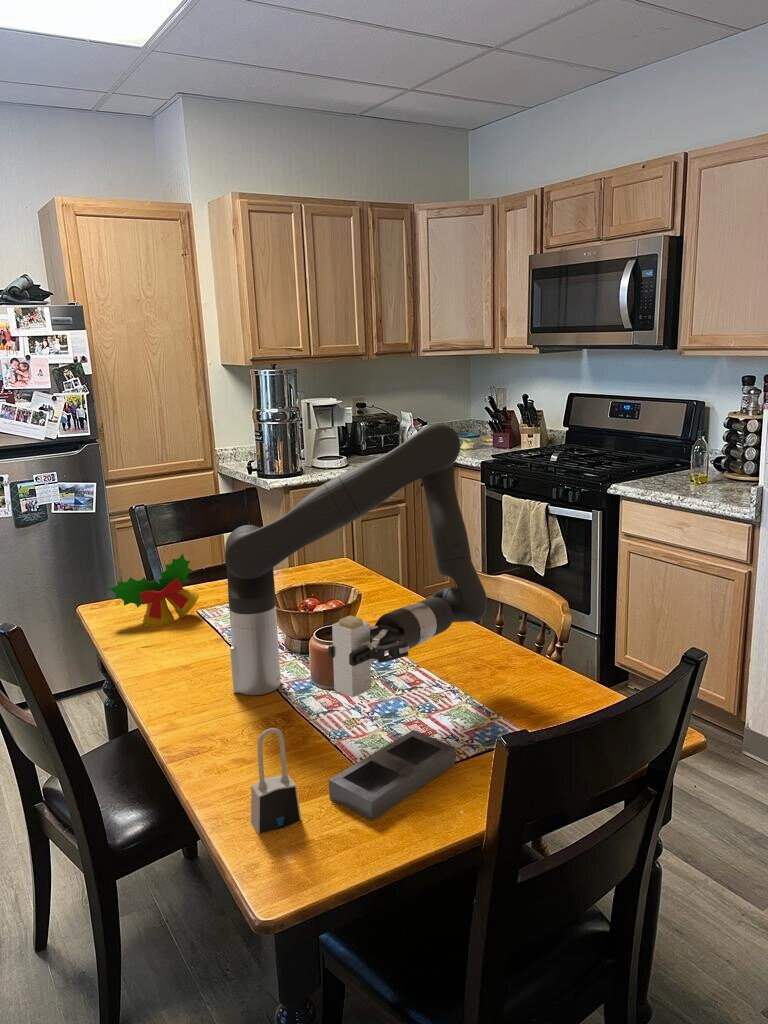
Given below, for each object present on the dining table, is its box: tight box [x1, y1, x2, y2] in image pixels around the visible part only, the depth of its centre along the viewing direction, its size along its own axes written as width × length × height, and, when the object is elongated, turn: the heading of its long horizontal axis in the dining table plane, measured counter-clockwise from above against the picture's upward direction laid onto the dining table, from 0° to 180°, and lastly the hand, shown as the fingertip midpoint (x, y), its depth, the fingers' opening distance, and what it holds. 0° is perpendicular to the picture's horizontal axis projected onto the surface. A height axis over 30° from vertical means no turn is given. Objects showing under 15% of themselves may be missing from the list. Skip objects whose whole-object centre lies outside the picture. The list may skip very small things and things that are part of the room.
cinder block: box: [328, 729, 456, 822], centre depth 124 cm, size 20×9×3 cm, turn 137°
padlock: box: [250, 727, 302, 835], centre depth 114 cm, size 7×4×15 cm, turn 117°
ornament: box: [108, 553, 200, 628], centre depth 196 cm, size 21×8×15 cm, turn 108°
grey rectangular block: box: [331, 615, 372, 698], centre depth 133 cm, size 4×4×13 cm
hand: (340, 656), depth 131 cm, fingers closed on grey rectangular block, 4 cm apart
